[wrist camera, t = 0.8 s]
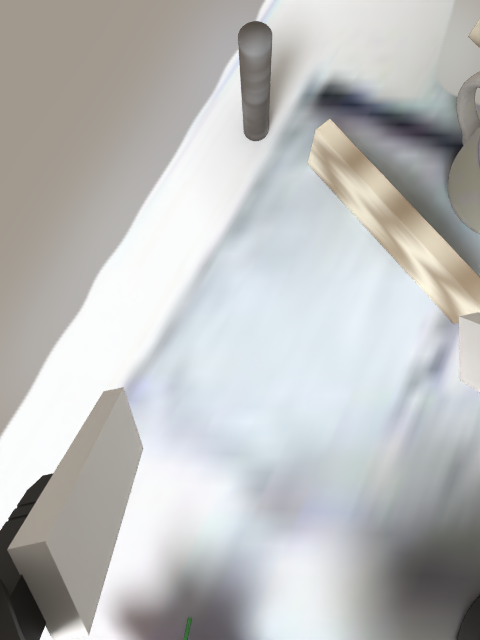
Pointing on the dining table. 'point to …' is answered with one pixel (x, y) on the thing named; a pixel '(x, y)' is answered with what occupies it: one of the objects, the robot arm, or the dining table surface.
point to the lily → (187, 629)
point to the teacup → (467, 159)
